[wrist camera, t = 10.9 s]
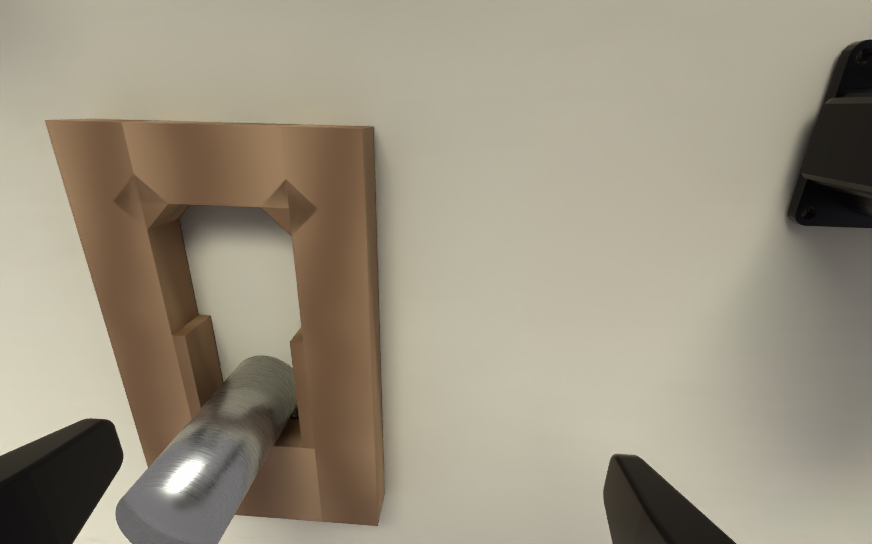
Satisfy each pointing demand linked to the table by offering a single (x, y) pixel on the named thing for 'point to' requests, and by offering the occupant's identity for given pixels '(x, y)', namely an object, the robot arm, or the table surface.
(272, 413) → the peg
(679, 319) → the table surface
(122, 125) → the keyhole board
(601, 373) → the table surface
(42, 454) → the robot arm
